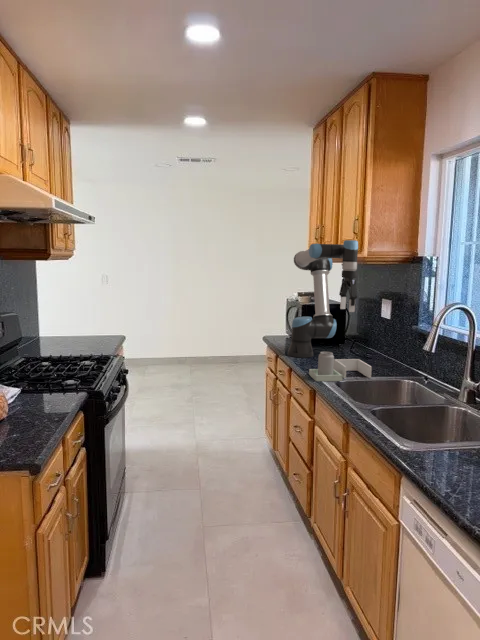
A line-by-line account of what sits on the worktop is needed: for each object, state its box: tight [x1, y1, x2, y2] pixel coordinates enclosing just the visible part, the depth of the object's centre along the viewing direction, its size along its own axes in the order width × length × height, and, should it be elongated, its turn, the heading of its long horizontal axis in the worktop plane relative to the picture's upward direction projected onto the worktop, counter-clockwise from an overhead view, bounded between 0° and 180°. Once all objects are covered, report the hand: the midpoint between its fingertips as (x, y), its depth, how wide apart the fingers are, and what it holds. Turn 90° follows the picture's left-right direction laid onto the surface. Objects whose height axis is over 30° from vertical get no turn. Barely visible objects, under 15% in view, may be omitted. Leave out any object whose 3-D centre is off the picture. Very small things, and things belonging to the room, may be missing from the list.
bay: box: [333, 358, 373, 379], centre depth 244 cm, size 17×14×6 cm
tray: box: [308, 368, 343, 382], centre depth 236 cm, size 13×13×3 cm
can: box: [317, 351, 335, 375], centre depth 235 cm, size 8×8×12 cm
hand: (347, 310), depth 251 cm, fingers open, 13 cm apart
